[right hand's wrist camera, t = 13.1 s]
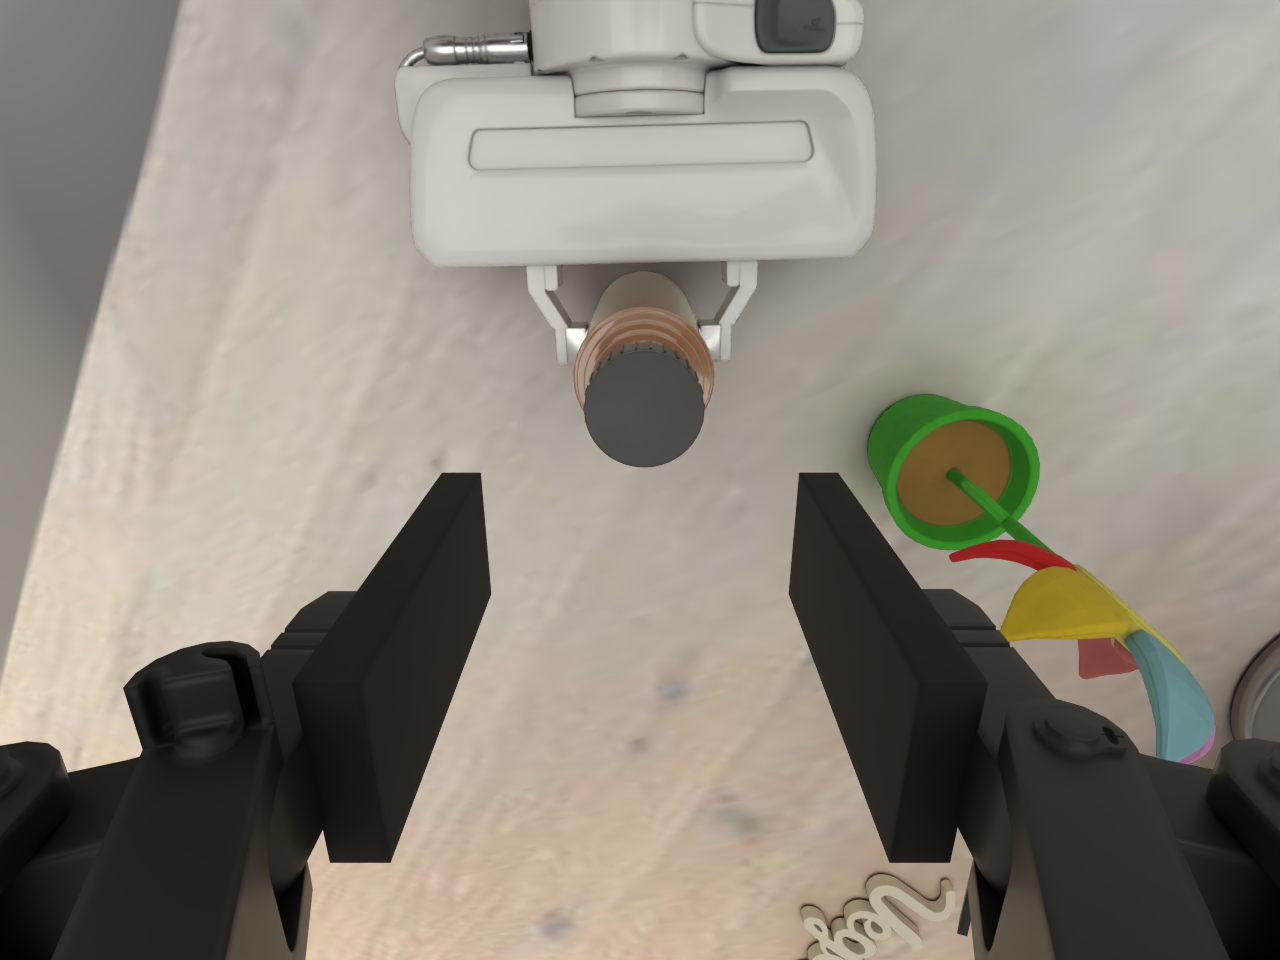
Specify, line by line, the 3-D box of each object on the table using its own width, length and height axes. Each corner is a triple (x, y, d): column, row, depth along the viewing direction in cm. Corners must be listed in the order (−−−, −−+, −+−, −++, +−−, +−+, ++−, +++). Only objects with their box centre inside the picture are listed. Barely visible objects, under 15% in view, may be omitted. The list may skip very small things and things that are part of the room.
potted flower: (819, 443, 43) (1025, 727, 20) (918, 345, 41) (1279, 536, 18) (922, 536, 46) (1216, 889, 22) (1022, 448, 43) (1462, 736, 20)
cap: (686, 463, 26) (688, 480, 24) (575, 439, 25) (571, 454, 24) (715, 355, 24) (720, 365, 23) (598, 328, 24) (596, 337, 22)
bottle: (677, 376, 42) (702, 498, 25) (587, 355, 42) (548, 465, 24) (701, 283, 40) (746, 346, 23) (606, 260, 40) (579, 307, 22)
